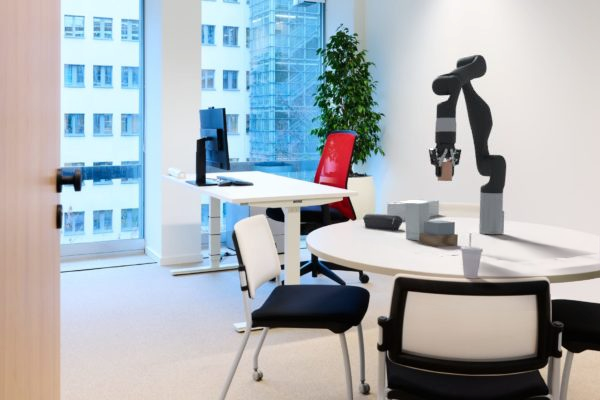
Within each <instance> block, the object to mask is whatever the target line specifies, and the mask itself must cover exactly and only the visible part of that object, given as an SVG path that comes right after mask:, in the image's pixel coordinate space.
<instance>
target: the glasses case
mask: <svg viewBox="0 0 600 400" xmlns="http://www.w3.org/2000/svg"><path fill="white" fill-rule="evenodd" d="M362 219H363V223H364V227H365V228H366V229H367V228H368V229H376V228H378V230H388V229H389V231H390V230H391V231H399V229H400V227H401V225H402V224H403V221H402V218H401V217H400V216H397V215H387V213H385V214H382V213H366V214H365V215H364V216H363V217H362Z"/></svg>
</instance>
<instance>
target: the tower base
mask: <svg viewBox="0 0 600 400" xmlns="http://www.w3.org/2000/svg"><path fill="white" fill-rule="evenodd" d="M418 244H419V245H422V246H423V245H424V246H430V247H434V248H441V247H443V248H444V247H455V246H457V247H458V234H457V233H455V234H452V235H432V234H427V233H419V241H418Z"/></svg>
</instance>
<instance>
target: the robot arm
mask: <svg viewBox="0 0 600 400" xmlns="http://www.w3.org/2000/svg"><path fill="white" fill-rule="evenodd" d="M455 66H456V68H453V70H451V71H450V72H447V73H444V74H441V75H438V76H436V77H434V78H433V81H432V83H431V90H432V92H433V93H434V94H435V95H437V96H442V97H444V96H448V98H447V99H446V100H444V101H440V102H438V103H437V105H436V119H435V129H434V130H435V131H434V132H435V133H434V135H435V137H434V143H435V147H433V148H429V149H428V153H429V155H428V156H429V159H430V160H429V161H430V164H431V165H432V166H434V168H435V170H434V171H435V173H434V175H435V177H437V178H438V177H441V172H442V167H441V165H442V162H452V178H453V177H454V176H455V167H456V166H458V165H460V160H461V155H462V149H461V148H456V145H455V144H456V143H457V119H456V118H457V105H458V100H459V97H460V94H461V91H462V94H463V98H464V101H465V103H464V104H465V107H466V114H467V118H468V123H469V127H470V131H471V134H472V135H471V136H472V140H473V145H474V146H473V148H474V155H475V156H474V157H475V164H476V165H475V166H476V170H477V171H478V174H479V175H480V176H482V177H489V179H488V182H487V183H485V184H482V185H481V186H480V189H479V191H480V194H479V195H480V196H479V224H478V225H479V230H478V231H479V233H480V234H484V235H502V234H504V232H505V231H504V230H505V225H504V224H505V211H504V209H503V207H504V206H503V205H504V203H503V202H504V189H505V185H506V176H507V161H506V158H505V157H504V155H501V154H491V153H490V150H489V137H490V134H491V132H492V129H493V126H494V125H493V123H494V122H493V116H492V110H491V108H490V106H489V104H488V103H487V102H486V101H485V100H484V99H483V98H482V97H481V96H480V95H479V94H478V93H477V92H476V90H475V88H474V87H473V84H472V80H474V79H479V78H481V77H482V78H483V76H485V75H486V73H487V68H488V67H487V62H486V59H485V57H484V56H483V55H482V54H474V55H469V56H465V57H460V58H458V59H457V60H456V64H455Z"/></svg>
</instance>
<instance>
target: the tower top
mask: <svg viewBox="0 0 600 400" xmlns="http://www.w3.org/2000/svg"><path fill="white" fill-rule="evenodd" d="M455 225H456V223H455V221H449V220H442V219H440V220H439V219H437V220H430V221H424V233H427V234H432V235H452V234H456V233H455V227H456V226H455Z"/></svg>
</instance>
